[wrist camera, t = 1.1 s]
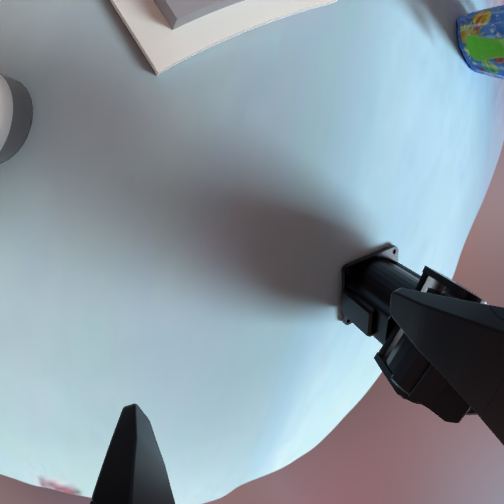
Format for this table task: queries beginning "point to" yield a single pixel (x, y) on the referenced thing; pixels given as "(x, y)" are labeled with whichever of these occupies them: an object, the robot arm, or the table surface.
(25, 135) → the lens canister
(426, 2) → the table surface
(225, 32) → the square framed plate
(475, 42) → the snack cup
